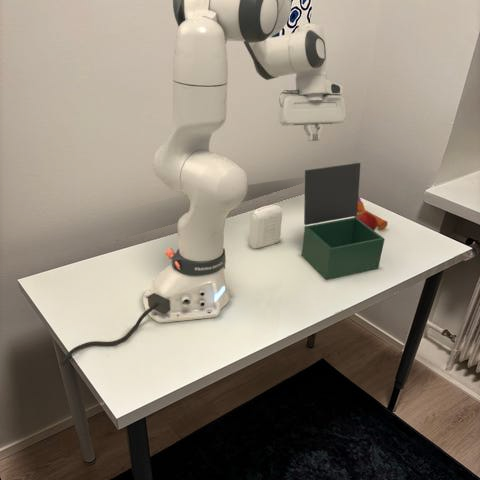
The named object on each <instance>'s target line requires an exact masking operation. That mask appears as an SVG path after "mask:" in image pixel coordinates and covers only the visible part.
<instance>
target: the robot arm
mask: <svg viewBox="0 0 480 480" xmlns="http://www.w3.org/2000/svg"><path fill="white" fill-rule="evenodd" d="M172 8H173V14H174V18H175V22H176V24H177V30H176V35H175V41H174V49H173V58H172V119H171V125H170V129H169V133H168V136H167V139H166V140H165V142H163V143H162V144H161V145H160V146H159V147H158V148H157V150H156V152H155V154H154V157H153V172H154V174H155V175H156V177H157V178H158V179H159V180H160V181H161V182H162V183H163V184H165V185H166V186H167V187H168V188H169V189H171V190H173V191H175V192H178V193H179V194H181V195H184V196H186V197H187V198H188V200H189V211H187V212H185V213H183V215H181V216H180V218H179V219H178V221H177V225H176V226H177V242H178V248H177V250H176V252H175V251H174V250H173V248H168V249H166V251H165V255H166V256H167V258H168V259H169V260H171V264H169V265H168V266H166V268H164V269H163V270H161V271H160V272H159V273H157V275H156V276H154V277H153V279H152V283H151V287H150V288H151V289H148V290H146V291H145V292H144V294H143V297H142V304H143V307H144V310H145V311H144V312H143V313H142V314H141V315H140V316H139V318H138V319H137V321H136V322H135V324H134V325H133V326H132V327H131V329H129V331H127V333H126V334H125V335H123V337H121V338H118V339H116V340H112V341H102V340H101V341H99V340H98V341H97V340H96V341H87V342H85V343H81V344H79V345H77V346H75V347H73V348H72V349H70V350H69V351H68V352H67V353H66V354H65V356H64V358H63V359H62V360H61V362H60V366H62V367H63V366H65V365H66V363H67V362H68V360H69V359H70V358H71V356H72V355H73V354H74V353H76V352H77V351H79V350H81V349H85V348H87V347H90V346H115V345H118V344H121V343H123V342H125V341H126V340H127V339H128V338H130V337H131V336H132V335H133V334H134V332H135V331H136V330H137V329H138V327H139V326H140V324H141V323H142V321H143V320H144V319H145V318H146V317H147V315H148V316H149V318H151V319H152V320H153V321H154V322H157V323H159V324H160V323H161V324H164V323H173V322H182V321H183V322H184V321H192V320H201V319H211V318H217V317H218V316H219V315H220V313H221V310H222V309H223V308H225V306H226V305H227V304H228V303H229V301H230V292H229V290H228V286H227V282H226V276H225V269H226V263H227V260H226V259H227V257H226V249H225V248H224V242H225V241H224V240H225V236H224V235H225V226H226V225H225V224H226V220H227V217H228V215H229V213H230V212H231V211H232V210H234V209H237V208H238V206H240V205H241V203H242V202H244V199H245V197H246V195H247V193H248V188H249V180H248V175H247V173H246V171H245V170H244V169H243V168H242V167H241V166H239V165H238V164H237V163H235V162H234V161H233V160H231V159H230V158H228V157H225V156H222V155H220V154H218V153H214V152H212V151H211V150H210V142H211V138H212V135H213V133H215V132H217V131H219V130H220V129H221V128H222V127H223V126H224V124H225V123H226V120H227V107H228V106H227V103H228V80H229V79H228V77H229V75H228V74H229V72H228V71H229V69H228V51H227V42H243V44H244V46H245V48H246V50H247V52H248V54H249V55H250V57H251V60H252V62H253V65H254V69H255V71H256V73H257V74H258V75H259V76H260V77H261V78H263V79H264V80H265V81H269V80H273V79H277V78H280V77H284V76H289V75H294V74H296V75H295V89H284V90H283V91H281V92H280V93H279V96H278V101H279V118H278V119H279V123H280V125H281V127H282V126H287V127H288V126H289V127H290V126H303V130H304V132H305V133H306V136H307V141H308V142H318V141H320V140H321V139H320V137H321V135H320V134H321V133H322V130H323V128H324V125H338V124H342V123H344V122H345V120H346V117H347V112H346V110H347V109H346V102H345V98H344V97H343V95H342V94H343V93H344V87H343V86H342V85H341V84H338V83H335V82H333V81H331V80H329V79H328V73H327V71H326V64H327V50H326V49H327V48H326V40H325V35H324V34H325V33H324V30H323V27H322V26H321V25H320V24H319V23H315V22H313V23H312V22H309V23H303V24H301V25H299V26H298V27H297V28H296V29H295V32H291V33H286V34H283V35H279V36H276V35H277V34H279V33H280V32H281V31H282V30H283V29H284V27H285V26H286V25H287V23H288V21H289V19H290V15H291V11H292V0H172ZM312 125H313V126H314V130H315V132H314V133H313V131H312V130H311V129H312V128H313V127H312Z"/></svg>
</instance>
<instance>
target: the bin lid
mask: <svg viewBox="0 0 480 480" xmlns="http://www.w3.org/2000/svg"><path fill="white" fill-rule="evenodd" d="M360 176H361V163H360V162H355V163H354V162H353V163H347V164H339V165H333V166H325V167H324V166H323V167H318V168H311V169H305V170H304V203H303V206H304V208H303V209H304V212H303V224H304V225H305V226H309V225H315V224H321V223H326V222H332V221H337V220H343V219H349V218H354V217H355V216H357V214H358V212H357V208H358V196H359V192H360V191H359V190H360V179H361V178H360Z"/></svg>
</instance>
